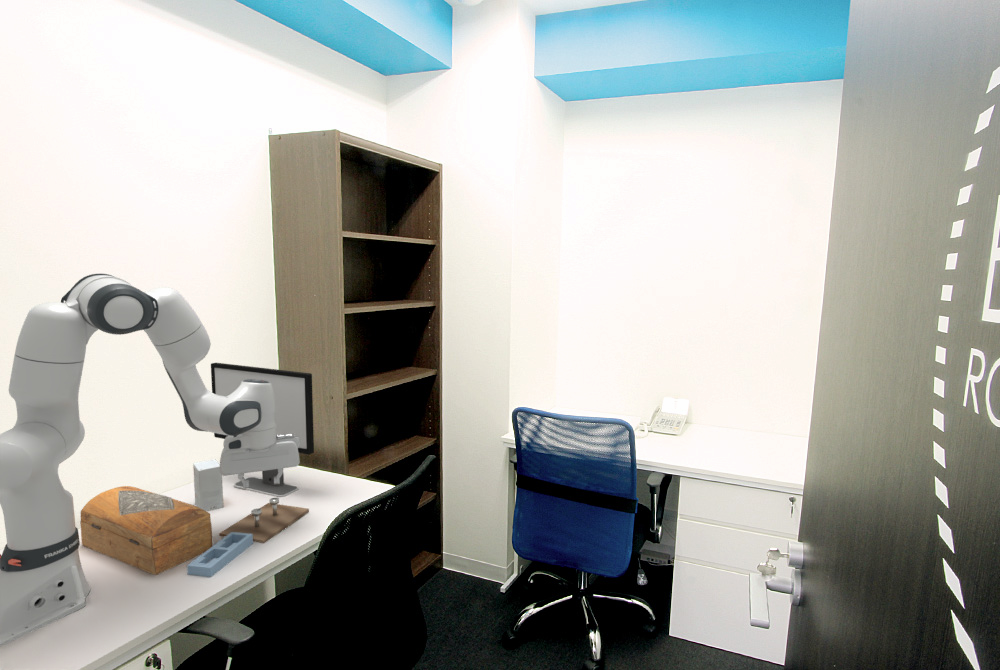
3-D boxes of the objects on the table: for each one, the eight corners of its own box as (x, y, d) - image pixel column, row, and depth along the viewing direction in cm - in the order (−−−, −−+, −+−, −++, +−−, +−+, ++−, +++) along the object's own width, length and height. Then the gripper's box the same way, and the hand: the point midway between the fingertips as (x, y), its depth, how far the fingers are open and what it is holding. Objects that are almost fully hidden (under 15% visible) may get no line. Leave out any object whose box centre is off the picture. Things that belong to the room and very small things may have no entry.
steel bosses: (257, 529, 150) (257, 513, 149) (249, 527, 150) (249, 511, 150) (281, 513, 159) (281, 498, 159) (273, 512, 160) (273, 497, 159)
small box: (224, 507, 165) (222, 466, 163) (200, 513, 161) (198, 470, 159) (217, 498, 171) (215, 458, 169) (194, 504, 167) (192, 462, 165)
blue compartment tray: (253, 544, 143) (252, 533, 143) (211, 580, 127) (210, 567, 127) (232, 542, 144) (231, 531, 144) (187, 577, 128) (186, 565, 127)
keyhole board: (263, 544, 143) (263, 540, 143) (219, 536, 147) (219, 533, 147) (308, 511, 163) (308, 508, 163) (268, 505, 166) (268, 502, 166)
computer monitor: (210, 481, 184) (204, 364, 179) (231, 473, 192) (226, 360, 187) (306, 503, 168) (302, 375, 163) (324, 493, 176) (321, 371, 171)
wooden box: (217, 549, 141) (215, 498, 139) (153, 582, 126) (149, 524, 125) (147, 523, 154) (144, 476, 153) (81, 550, 140) (77, 498, 138)
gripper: (299, 429, 157) (300, 476, 159) (219, 438, 149) (222, 486, 151) (300, 436, 151) (302, 484, 153) (217, 445, 143) (220, 495, 145)
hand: (261, 485), depth 152 cm, fingers open, 6 cm apart
